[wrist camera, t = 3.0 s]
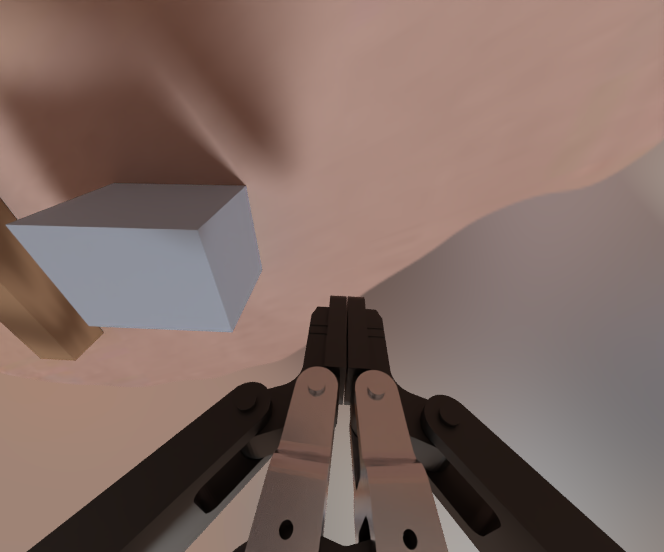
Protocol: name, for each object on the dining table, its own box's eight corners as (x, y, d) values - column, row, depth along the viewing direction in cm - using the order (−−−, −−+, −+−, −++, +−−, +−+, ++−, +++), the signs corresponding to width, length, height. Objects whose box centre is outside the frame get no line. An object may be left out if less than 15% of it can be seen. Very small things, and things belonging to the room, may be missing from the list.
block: (115, 182, 15) (5, 224, 10) (246, 185, 15) (197, 230, 10) (156, 265, 19) (89, 326, 14) (262, 269, 18) (232, 332, 13)
